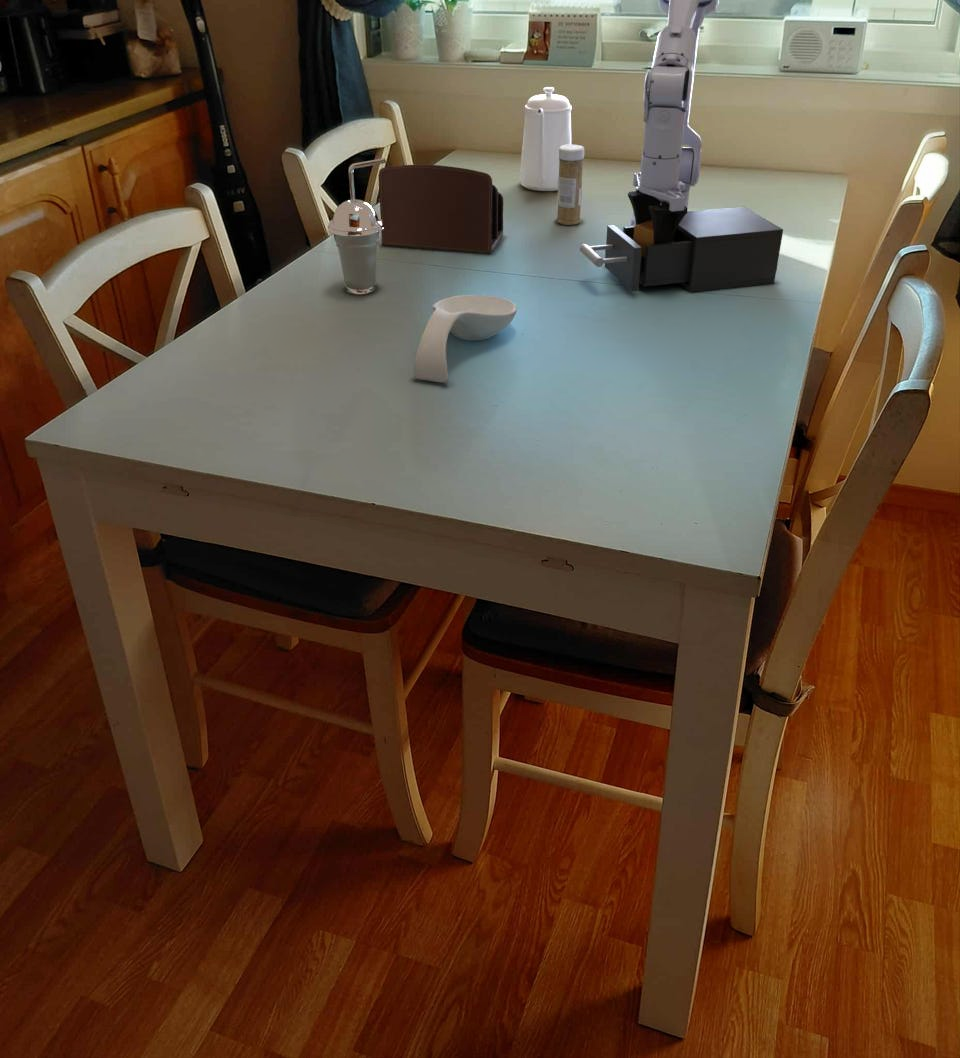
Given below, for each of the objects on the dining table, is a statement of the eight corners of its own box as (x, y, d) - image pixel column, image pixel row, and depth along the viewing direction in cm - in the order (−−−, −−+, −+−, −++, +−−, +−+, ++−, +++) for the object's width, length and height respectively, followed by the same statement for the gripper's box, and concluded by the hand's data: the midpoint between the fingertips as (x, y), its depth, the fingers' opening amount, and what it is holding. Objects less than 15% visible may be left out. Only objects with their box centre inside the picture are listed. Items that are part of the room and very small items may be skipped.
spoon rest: (450, 312, 146) (449, 265, 142) (526, 321, 143) (527, 273, 139) (389, 378, 128) (386, 326, 124) (475, 390, 125) (474, 337, 121)
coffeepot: (508, 201, 193) (510, 99, 182) (529, 169, 213) (531, 75, 202) (563, 204, 191) (567, 101, 180) (578, 171, 211) (583, 77, 201)
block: (653, 260, 151) (656, 232, 149) (632, 253, 154) (634, 225, 152) (671, 253, 154) (674, 225, 151) (649, 247, 157) (652, 219, 154)
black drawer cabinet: (689, 292, 152) (696, 237, 148) (657, 265, 162) (662, 213, 158) (774, 283, 155) (783, 229, 151) (737, 257, 166) (744, 206, 161)
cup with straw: (355, 276, 159) (345, 147, 148) (401, 286, 155) (394, 155, 144) (322, 292, 153) (309, 160, 142) (369, 303, 149) (359, 168, 138)
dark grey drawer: (598, 295, 149) (601, 251, 145) (573, 270, 158) (575, 228, 154) (711, 283, 153) (717, 240, 149) (680, 259, 162) (685, 218, 158)
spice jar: (585, 222, 182) (589, 146, 174) (569, 227, 179) (572, 151, 172) (567, 216, 185) (570, 142, 177) (550, 222, 182) (553, 146, 174)
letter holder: (491, 255, 167) (491, 169, 159) (380, 246, 171) (375, 163, 163) (503, 236, 175) (504, 155, 167) (398, 229, 179) (393, 148, 171)
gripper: (708, 164, 141) (696, 257, 148) (666, 141, 152) (657, 228, 160) (663, 168, 139) (653, 261, 147) (623, 144, 151) (617, 232, 158)
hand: (652, 244), depth 153 cm, fingers closed on block, 6 cm apart
